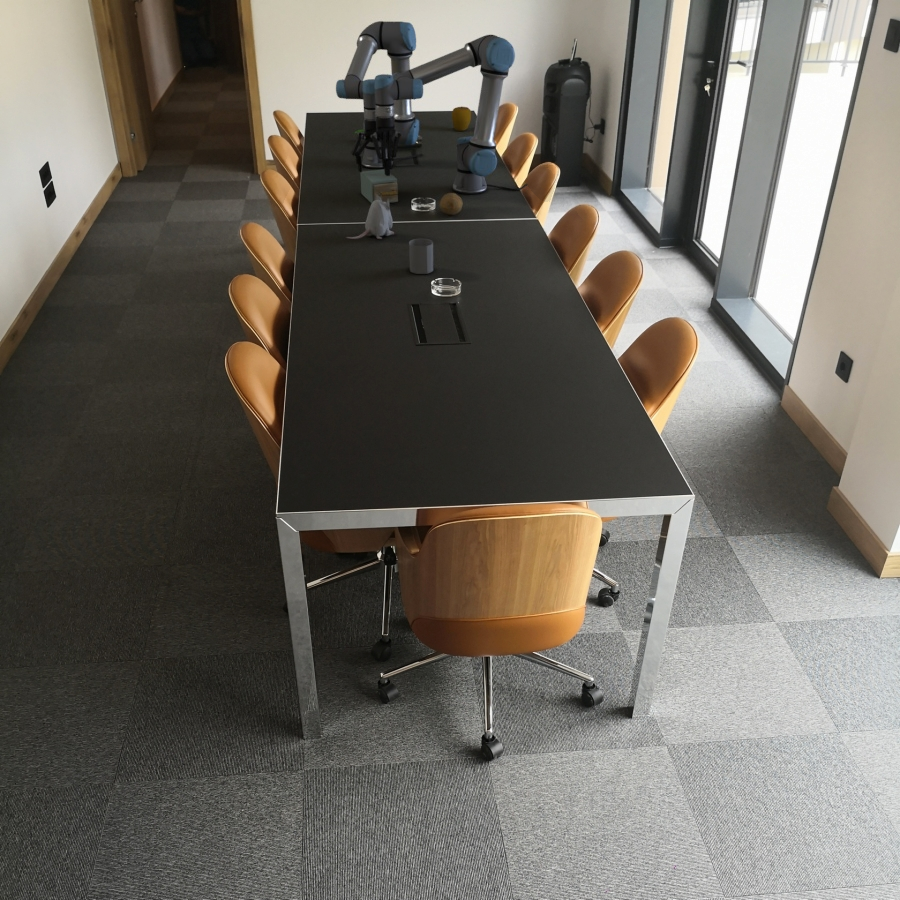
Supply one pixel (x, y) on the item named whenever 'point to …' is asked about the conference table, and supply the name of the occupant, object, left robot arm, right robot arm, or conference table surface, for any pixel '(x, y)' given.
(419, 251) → the cup
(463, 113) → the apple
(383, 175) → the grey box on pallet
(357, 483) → the conference table surface
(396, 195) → the drawer
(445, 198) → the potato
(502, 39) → the right robot arm
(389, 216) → the toy
